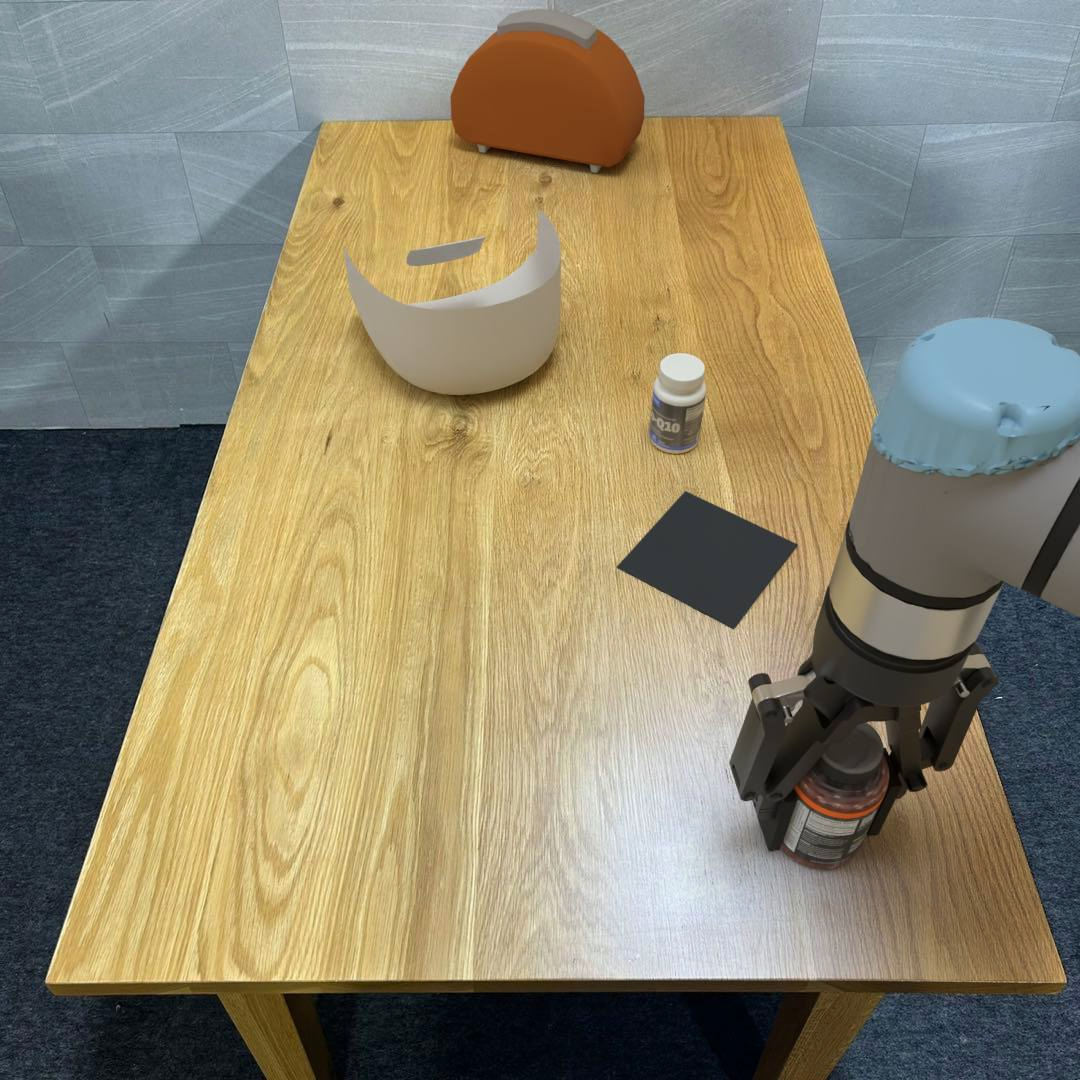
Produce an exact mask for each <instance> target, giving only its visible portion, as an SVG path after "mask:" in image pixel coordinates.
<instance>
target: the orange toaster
mask: <svg viewBox="0 0 1080 1080" xmlns="http://www.w3.org/2000/svg"><path fill="white" fill-rule="evenodd" d="M450 93H451V94H450V118H451V122H452V126H453V130H454V133H455V134H456V135H457V136H458V137H459V138H460V139H461V140H462V141H463V142H465V143H470V144H473V145H474V144H475V145H477V148H478V152H479V153H482V154H486V153H487V152H488V150H490V148H495V149H501V150H507V151H513V152H518V153H523V154H530V155H535V156H539V157H545V158H551V159H552V158H553V159H558V160H564V161H568V162H574V163H579V164H585V165H589V169H590V172H591V173H594V174H598V173H599V171H600V170H601V168H602V167H604V168H612V167H614V166H615V165H617V164H618V163H620V162H621V161H623V159H624V158H625V156H627V153H628V152H629V150H630V149H631V148H632V147H633V145H634V144H635V142H636V140H637V139H638V137H639V136H640V134H641V131H642V129H643V126H644V125H643V124H644V120H645V101H646V100H645V99H646V98H645V94H644V91H643V89H642V85H641V82H640V79H639V78H638V75H637V71H636V70H635V68H634V67H633V65H632V62H631V61H630V59H629V58H628V56H627V54H626V52H625V51H624V50H623V49H622V48H621V47H620V46H619V45H618V44H617V43H616V42H615V41H614V40H613V39H611V37H609V36H608V34H606V33H604V32H603V31H601V30H600V29H599V28H597V27H596V26H595V25H593V24H592V23H590V22H588V21H586V20H584V19H582V18H580V17H577V16H574V15H572V14H569V13H567V12H562V11H559V10H554V9H541V8H540V9H539V8H537V9H528V10H527V9H525V10H520V11H515V12H512V13H509V14H508V15H506V16H505V17H504V18H503V19H502V20H501V21H500V22H499V23H498V24H497V25H496V31H495V32H493V33H492V34H491V35H490V36H489V37H488V38H487V39H486V40H485V41H484V42H483V43H482V44H481V45H479V47H478V48H476V49H475V51H474V52H473V53H471V55H470V56H469V57H468V59H466V62H465V63H464V65H463V67H462V68H461V70H460V72H459V73H458V75H457V78H456V81H455V83H454V85H453V89H452V91H451V92H450Z"/></svg>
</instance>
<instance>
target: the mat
mask: <svg viewBox="0 0 1080 1080" xmlns="http://www.w3.org/2000/svg"><path fill="white" fill-rule="evenodd" d="M798 545H799V544H798V543H796V542H794V541H791V540H790V539H788V538H786V537H783V536H781V535H779V534H777V533H775V532H773V531H771V530H769V529H766V528H765V527H762V526H760V525H758V524H756V523H754V522H751V521H750V520H748V519H745V518H743V517H741V516H739V515H737V514H735V513H733V512H730V511H728V510H727V509H724V508H723V507H721V506H718V505H716V504H714V503H712V502H710V501H708V500H706V499H703V498H701V497H699V496H698V495H695V494H693V493H691V492H688V491H687V490H684V492H683V493H682V494H681V495H680V496H679V497H678V498H677V500H676V501H674V502H673V504H672V505H671V506H670V507H669V508H668V510H666V512H665V513H664V514H663V515H661V517H660V518H659V519H658V521H656V522H655V524H654V525H653V526H652V527H651V528H650V529H649V530H648V532H647V533H646V534H645V535H644V536H643V537H642V538H640V540H639V541H638V543H637V544H635V545H634V547H633V548H632V549H631V550H630V551H629V553H628V554H627V555H626V556H625V557H624V558H623V559H622V560H621V561H620V563H619V564H618V565H616V568H617V569H619V570H620V571H623V572H625V573H626V574H628V575H630V576H632V577H634V578H636V579H638V580H639V581H641V582H644V583H645V584H647V585H649V586H651V587H653V588H654V589H656V590H659V591H661V592H662V593H664V594H667V595H668V596H670V597H672V598H674V599H676V600H677V601H680V603H681V602H682V603H684V604H685V605H687V606H689V607H691V608H693V609H694V610H696V611H699V612H701V613H703V614H704V615H706V616H707V617H710V618H712V619H713V620H716V621H717V622H719V623H720V624H723V625H724V626H727V627H728V628H731V629H732V630H734V629H736V627H737V626H738V624H739V623H740V621H742V618H743V617H745V616H746V614H747V612H748V611H749V610H750V609H751V607H752V606H753V604H754V603H755V602H756V600H757V599H758V598H759V597H760V595H761V594H762V593H763V592H764V590H765V589H766V587H768V585H769V583H771V581H772V580H773V578H774V577H775V576H776V574H777V573H778V572H779V571H780V569H781V568H782V566H783V565H784V564H785V563H786V561H787V560H788V559H789V557H790V556H791V555H792V554H793V552H794V551H795V549H796V548H797V547H798Z"/></svg>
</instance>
